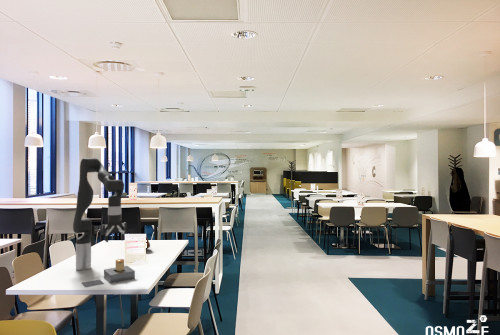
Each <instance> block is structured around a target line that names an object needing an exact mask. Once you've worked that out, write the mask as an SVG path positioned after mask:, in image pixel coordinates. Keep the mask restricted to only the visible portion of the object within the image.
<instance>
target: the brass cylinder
mask: <svg viewBox="0 0 500 335" xmlns="http://www.w3.org/2000/svg"><path fill="white" fill-rule="evenodd" d="M124 266H125V259H124V258H118V259H116V260H115V268H116V272H120V271H124Z"/></svg>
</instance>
